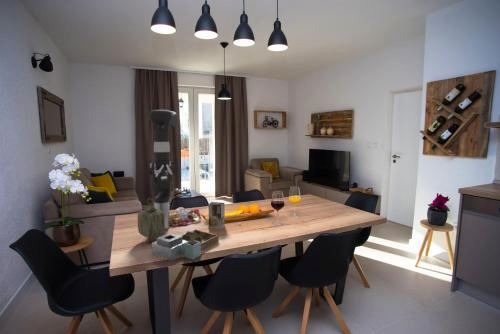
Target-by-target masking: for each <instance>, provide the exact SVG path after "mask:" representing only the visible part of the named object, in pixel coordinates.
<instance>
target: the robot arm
mask: <svg viewBox="0 0 500 334" xmlns="http://www.w3.org/2000/svg"><path fill="white" fill-rule="evenodd" d="M178 117H179V116H178V113H177V112H175V111H172V110H168V109H153V110H151V111H150V113H149V115H148V118H149V121H150V123H152V124H153V125H157V129H155V130H154V132H153V141H154V142H153V160H154V162H153V163H151V162H150V163H149V164H148V174H149V176H150V177H151V179H150V189H151V190H152V192H153V193H158V194H157V195H156V196H155V197H154V198H153V201H154V205H153V206H154V207H155V209H158V210H160V211H162V212H163V214H164V220H165V230H166V229H169V228H170V227H171V225H170V213H171V212H170V198H171V182H172V181H173V179H172V178H173V176H172V175H173V174H175V173H176V168H175V161H170V160H171V157H172V156H171V153H172V146H171V144H170V128H173V127H176V126H177V124H178ZM163 172H166V175H167V176H163Z"/></svg>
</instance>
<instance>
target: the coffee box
mask: <svg viewBox="0 0 500 334" xmlns="http://www.w3.org/2000/svg"><path fill="white" fill-rule="evenodd" d="M207 208H208V229H217V230H222V229H224V228H225V226H226V225H225V224H226V223H225V220H226V219H225V218H226V217H225V202H221V201H219V202H217V201H211V202H210V203H208V207H207Z"/></svg>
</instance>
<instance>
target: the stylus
mask: <svg viewBox="0 0 500 334" xmlns="http://www.w3.org/2000/svg"><path fill="white" fill-rule="evenodd" d="M189 232H190V245H194V244H195V232H194V231H193V230H192V232H191V231H189Z"/></svg>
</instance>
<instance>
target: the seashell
mask: <svg viewBox="0 0 500 334" xmlns="http://www.w3.org/2000/svg"><path fill="white" fill-rule="evenodd" d="M190 232H191V231H186V233H185V234H186V239H185V240H186V241H190ZM195 241H199V242H201V243H203V238H201V236H200V235H198V234H197V233H195Z"/></svg>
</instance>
